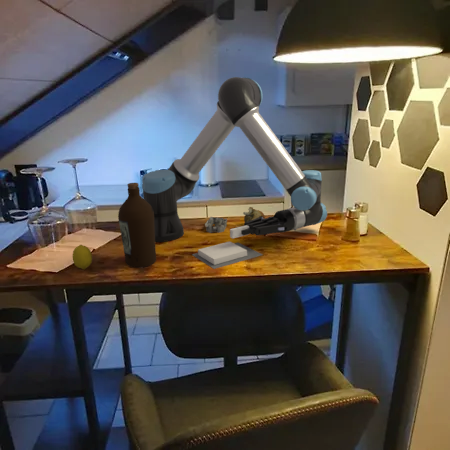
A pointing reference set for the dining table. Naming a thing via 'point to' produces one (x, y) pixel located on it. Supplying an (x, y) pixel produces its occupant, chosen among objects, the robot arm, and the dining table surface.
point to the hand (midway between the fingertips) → (231, 233)
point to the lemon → (82, 256)
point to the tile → (222, 252)
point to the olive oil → (137, 229)
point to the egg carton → (216, 225)
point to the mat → (250, 255)
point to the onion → (252, 214)
